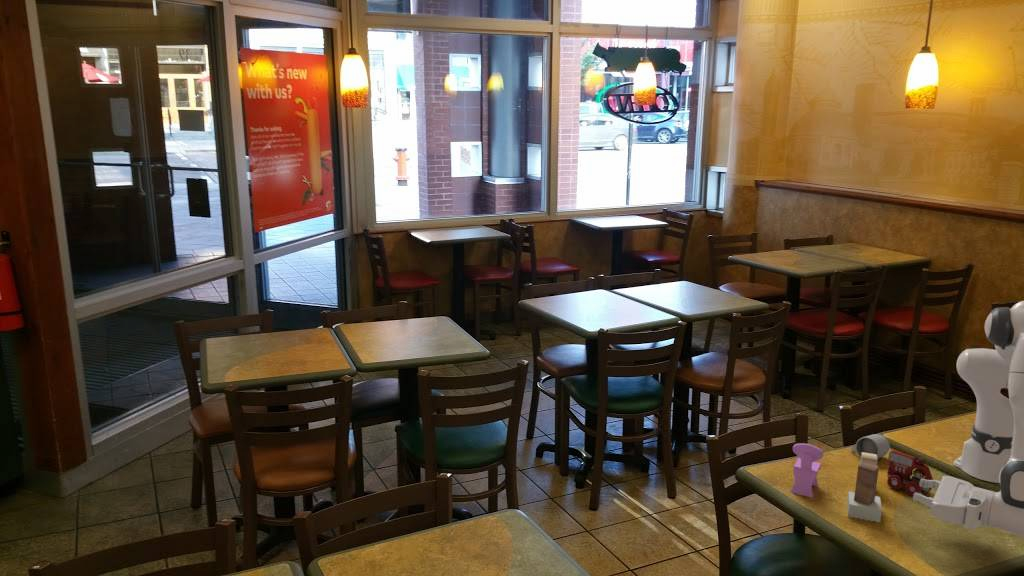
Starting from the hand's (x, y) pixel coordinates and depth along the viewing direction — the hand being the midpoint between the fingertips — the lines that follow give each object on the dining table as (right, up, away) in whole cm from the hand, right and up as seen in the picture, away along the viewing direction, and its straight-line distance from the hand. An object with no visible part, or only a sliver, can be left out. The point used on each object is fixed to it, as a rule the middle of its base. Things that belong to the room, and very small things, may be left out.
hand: (916, 488), depth 203 cm
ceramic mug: (+8, -1, +44) cm, 45 cm away
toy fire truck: (+10, -6, +23) cm, 26 cm away
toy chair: (-21, -6, +22) cm, 31 cm away
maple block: (-3, -6, +24) cm, 24 cm away
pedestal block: (-10, -9, +9) cm, 16 cm away
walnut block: (-10, -5, +8) cm, 14 cm away
